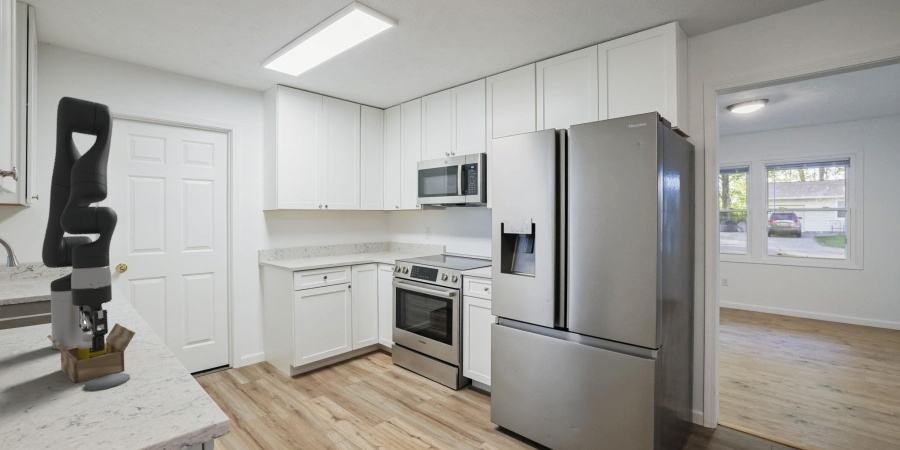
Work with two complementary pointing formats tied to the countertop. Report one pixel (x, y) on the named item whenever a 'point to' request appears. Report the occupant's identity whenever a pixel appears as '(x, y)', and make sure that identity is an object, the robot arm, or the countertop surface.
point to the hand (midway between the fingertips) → (93, 347)
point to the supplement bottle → (88, 347)
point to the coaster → (107, 381)
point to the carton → (99, 364)
